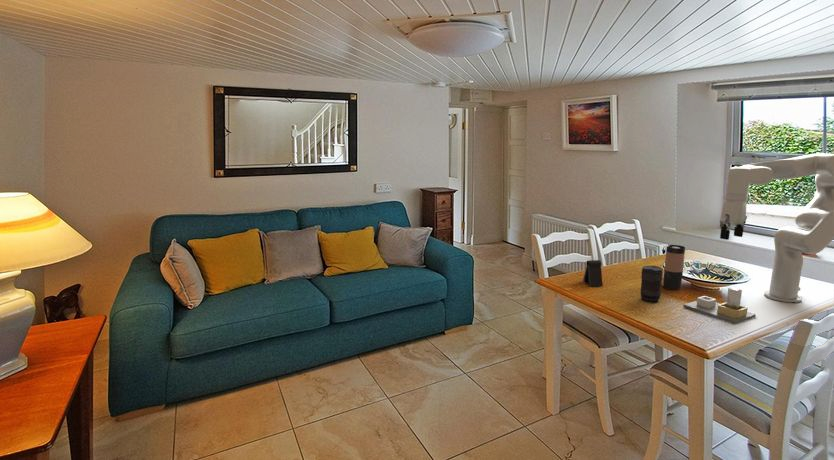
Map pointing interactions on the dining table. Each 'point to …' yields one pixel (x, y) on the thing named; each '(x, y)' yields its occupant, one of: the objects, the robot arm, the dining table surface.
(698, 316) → the dining table surface
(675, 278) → the travel mug
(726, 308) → the fitting board
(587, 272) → the door stopper
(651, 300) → the camera lens
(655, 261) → the dining table surface
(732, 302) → the light grey rectangular block
